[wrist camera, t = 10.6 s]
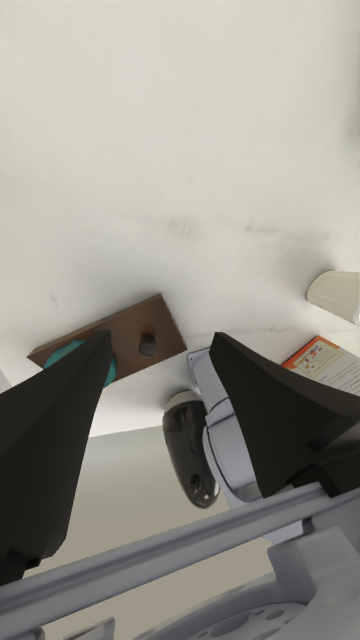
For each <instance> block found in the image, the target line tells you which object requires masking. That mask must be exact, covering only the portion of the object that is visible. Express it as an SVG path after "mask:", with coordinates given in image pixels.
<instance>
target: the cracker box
mask: <svg viewBox="0 0 360 640" xmlns="http://www.w3.org/2000/svg"><path fill="white" fill-rule="evenodd" d="M282 367H284V368H286V369H288V370H290V371H293V372H295V373H297V374H300V375H302V376H304V377H307V378H309V379H312V380H314V381H317V382H319V383H322V384H325V385H327V386H330V387H333V388H336V389H339V390H342V391H345V392H348V393H351V394H354V395H357V396H360V358H359V357H357V356H355V355H354V354H352V353H350V352H348V351H346V350H344V349H343V348H341V347H339V346H337V345H335V344H333V343H332V342H330V341H328V340H326V339H324V338H322V337H320V336H317V337H316V338H315V339H313V340H312V341H311V342H310V343H308V344H307V345H306V346H305V347H304V348H302V349H301V350H300V351H299V352H297V353H296V354H295V355H294V356H293V357H291V358H290V359H289V360H288V361H287V362H285V363H284V364H283V365H282Z"/></svg>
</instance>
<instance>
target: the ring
mask: <svg viewBox="0 0 360 640" xmlns="http://www.w3.org/2000/svg"><path fill="white" fill-rule="evenodd" d="M85 341H86V340H73V341H72V342H71V343H70V344H69V345H66V346H64V347H62V348H59V349H57V350H55V352H53V353H52V354H51V356H50V357H49V358H48V360H47V362H46V364H45V366H44V369H46V368H47V367H49V366H50V365H52V364H54V363H55V362H57V361H58V360H59V359H61V358H62V357H64V356H65V355H67V354H68V353H70V352H71V351H73V350H74V349H75V348H77V347H78V346H79V345H81V344H82V343H83V342H85ZM116 371H117V366H116V361H115V359H114V358H113V357H112V362H111V366H110V370H109V373H108V376H107V379H106V382H105V384H104V387H103V388H105V387H107V386H108V385H109V384H110V383H111V382H112V380H113V379H114V378H115V376H116Z"/></svg>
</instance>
